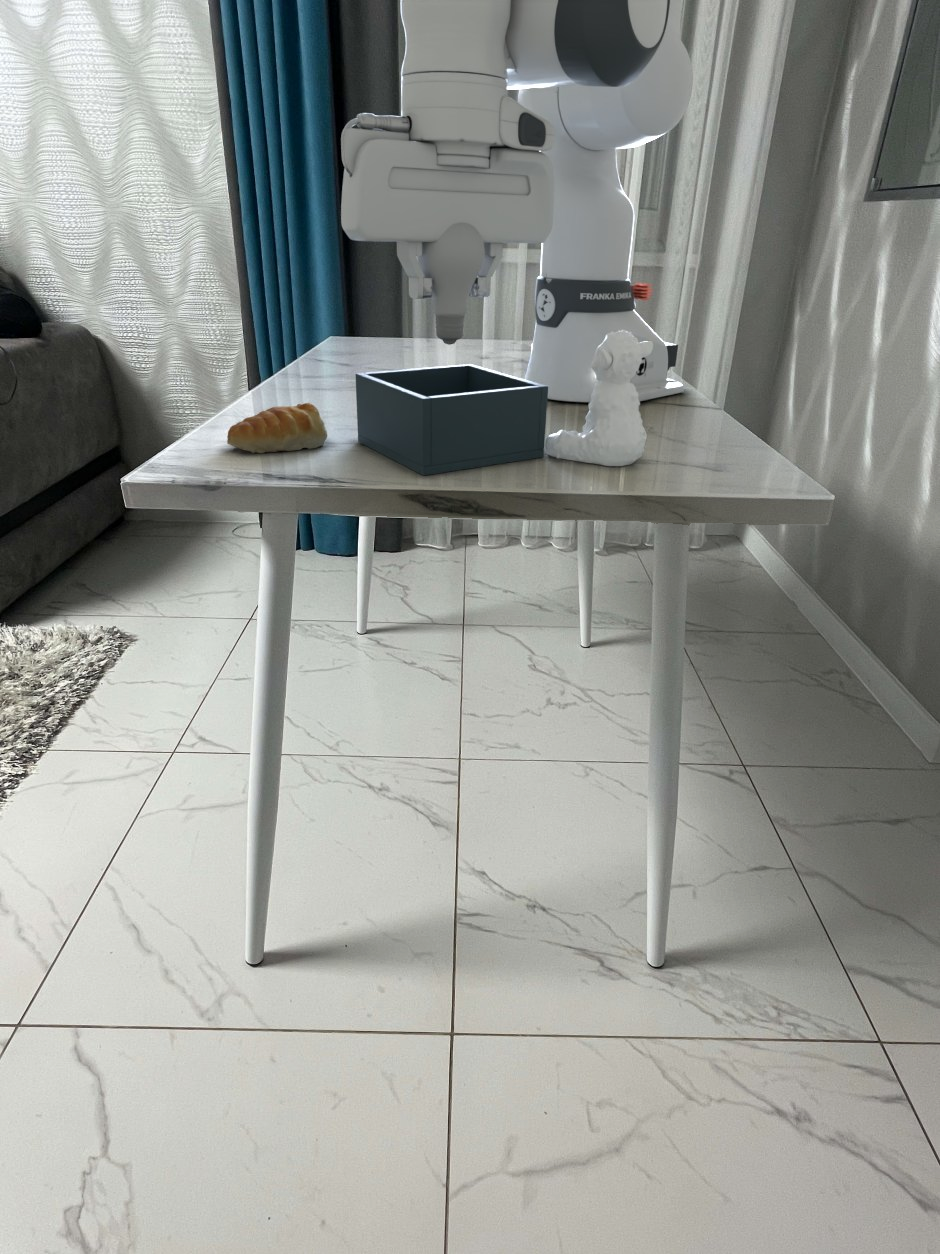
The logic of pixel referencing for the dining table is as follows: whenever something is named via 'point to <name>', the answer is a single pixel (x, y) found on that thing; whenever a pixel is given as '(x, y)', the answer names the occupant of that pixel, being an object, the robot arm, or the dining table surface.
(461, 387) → the bin
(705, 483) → the dining table surface
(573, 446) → the sitting furry creature
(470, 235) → the lightbulb
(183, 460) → the dining table surface
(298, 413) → the pastry
